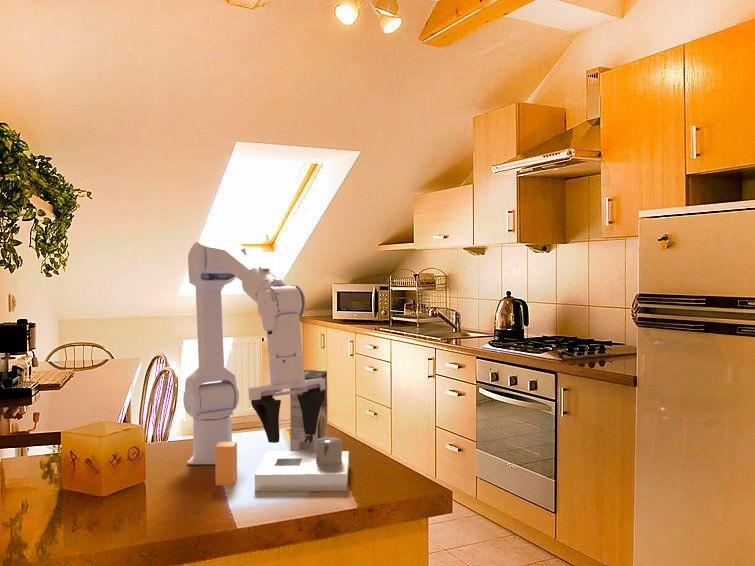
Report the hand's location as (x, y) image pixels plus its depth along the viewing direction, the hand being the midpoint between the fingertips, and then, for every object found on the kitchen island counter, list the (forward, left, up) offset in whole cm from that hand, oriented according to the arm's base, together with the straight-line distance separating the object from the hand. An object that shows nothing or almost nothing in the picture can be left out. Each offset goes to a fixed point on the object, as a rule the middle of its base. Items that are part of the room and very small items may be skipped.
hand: (292, 438), depth 108 cm
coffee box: (-33, 0, -11) cm, 34 cm away
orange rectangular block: (-10, -13, -11) cm, 19 cm away
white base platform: (-12, +1, -11) cm, 16 cm away
